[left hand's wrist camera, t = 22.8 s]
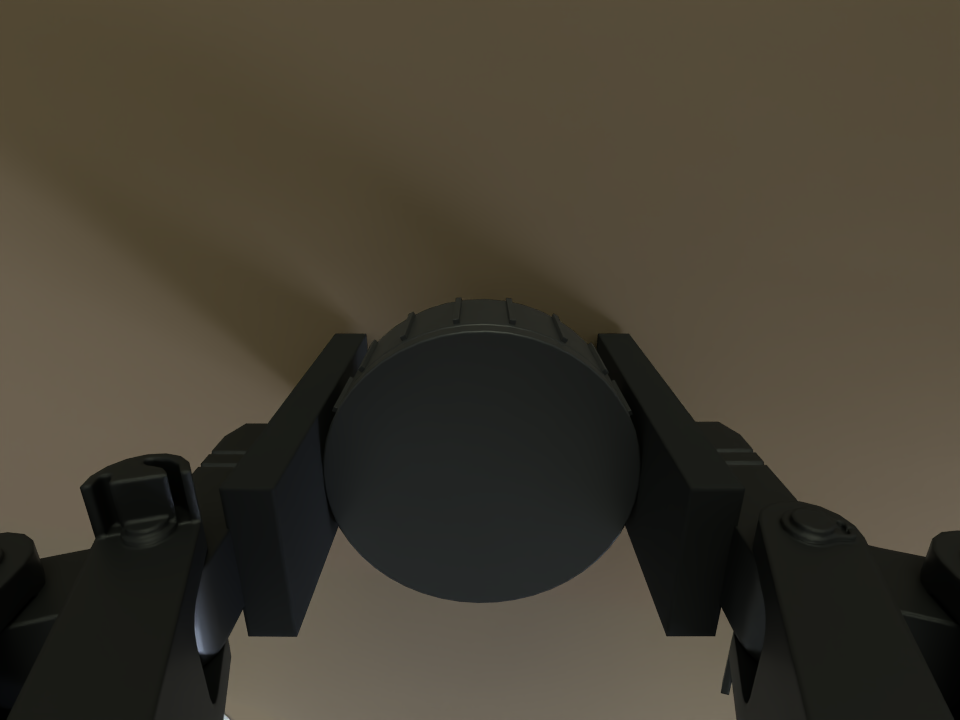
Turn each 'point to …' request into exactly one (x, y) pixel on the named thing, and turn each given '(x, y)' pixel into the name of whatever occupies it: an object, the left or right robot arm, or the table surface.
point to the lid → (481, 453)
